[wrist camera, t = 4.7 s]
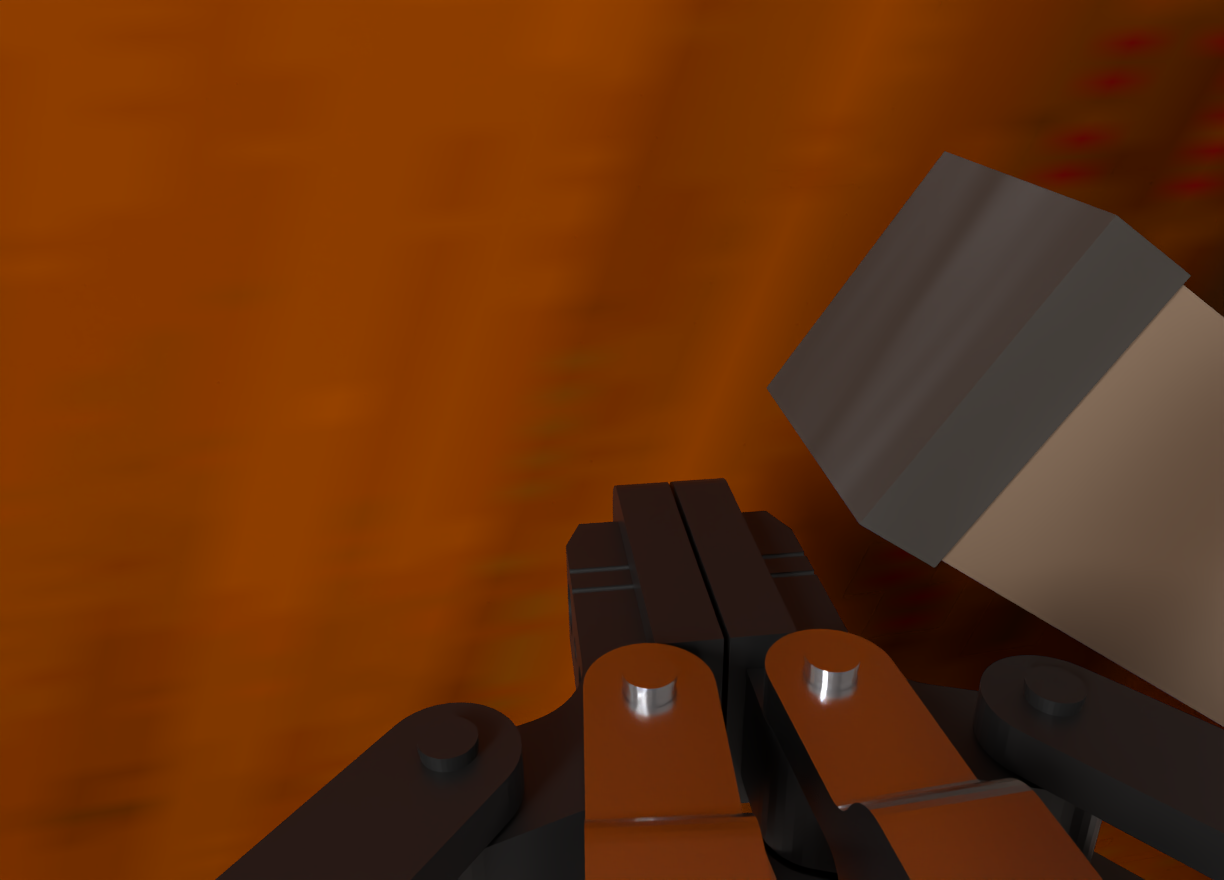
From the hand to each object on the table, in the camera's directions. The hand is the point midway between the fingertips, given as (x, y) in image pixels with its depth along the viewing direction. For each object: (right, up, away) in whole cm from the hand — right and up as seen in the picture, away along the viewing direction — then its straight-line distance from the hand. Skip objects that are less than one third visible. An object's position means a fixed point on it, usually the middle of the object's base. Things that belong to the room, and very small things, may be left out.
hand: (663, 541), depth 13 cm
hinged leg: (+12, -2, +5) cm, 13 cm away
